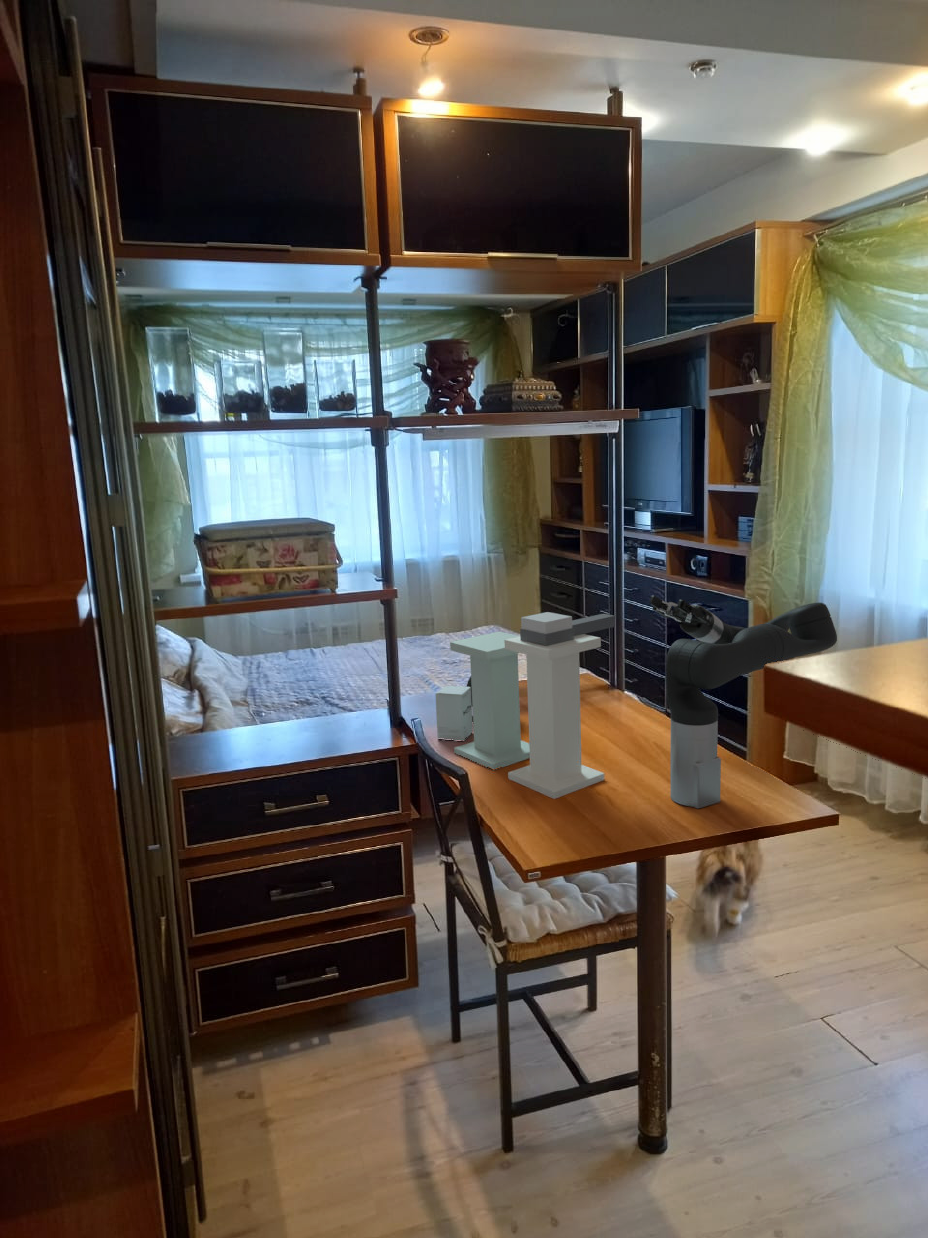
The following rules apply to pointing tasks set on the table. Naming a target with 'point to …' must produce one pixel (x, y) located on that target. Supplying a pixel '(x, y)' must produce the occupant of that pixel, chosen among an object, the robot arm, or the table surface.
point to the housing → (560, 627)
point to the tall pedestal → (554, 717)
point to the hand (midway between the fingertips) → (665, 601)
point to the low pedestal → (493, 701)
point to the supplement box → (454, 712)
